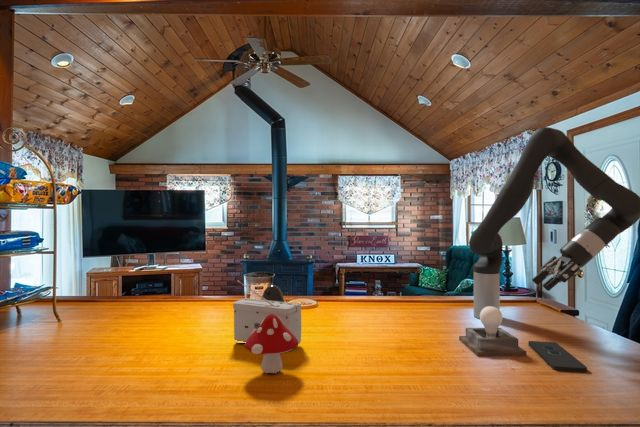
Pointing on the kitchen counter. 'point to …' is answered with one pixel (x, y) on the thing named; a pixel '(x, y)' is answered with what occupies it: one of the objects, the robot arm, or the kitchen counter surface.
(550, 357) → the smart home device
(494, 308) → the lightbulb
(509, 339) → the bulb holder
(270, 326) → the decorative mushroom
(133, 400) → the kitchen counter surface
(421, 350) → the kitchen counter surface
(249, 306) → the stereo radio cassette player
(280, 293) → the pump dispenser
